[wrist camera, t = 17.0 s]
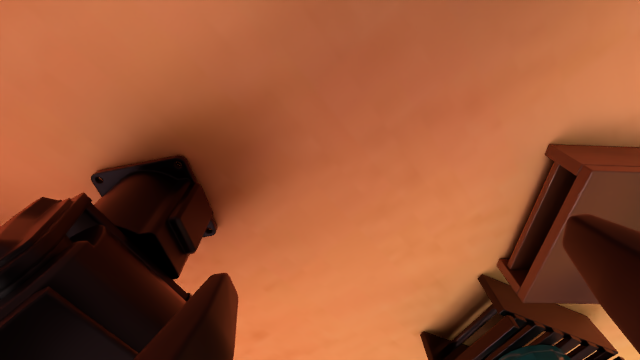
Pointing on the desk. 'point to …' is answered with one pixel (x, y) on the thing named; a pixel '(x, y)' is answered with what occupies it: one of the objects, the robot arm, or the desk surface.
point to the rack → (521, 330)
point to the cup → (536, 353)
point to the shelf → (568, 200)
